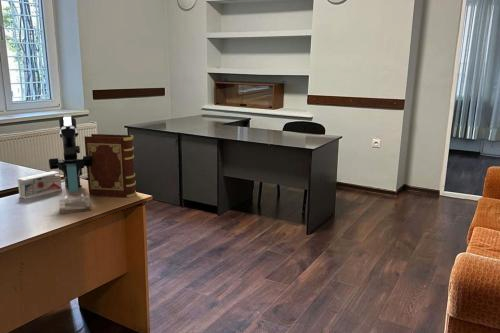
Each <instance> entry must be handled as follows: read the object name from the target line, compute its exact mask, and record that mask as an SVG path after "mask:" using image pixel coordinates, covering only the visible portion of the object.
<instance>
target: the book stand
mask: <svg viewBox="0 0 500 333" xmlns="http://www.w3.org/2000/svg"><path fill="white" fill-rule="evenodd" d="M58 207H59V208H58V209H59V210H58V213H59V215H67V214H75V213H83V212H91V211H92V207H91V201H90V196H84V193H80V197H74V198H68V194H67V195H64V199H59V206H58Z"/></svg>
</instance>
